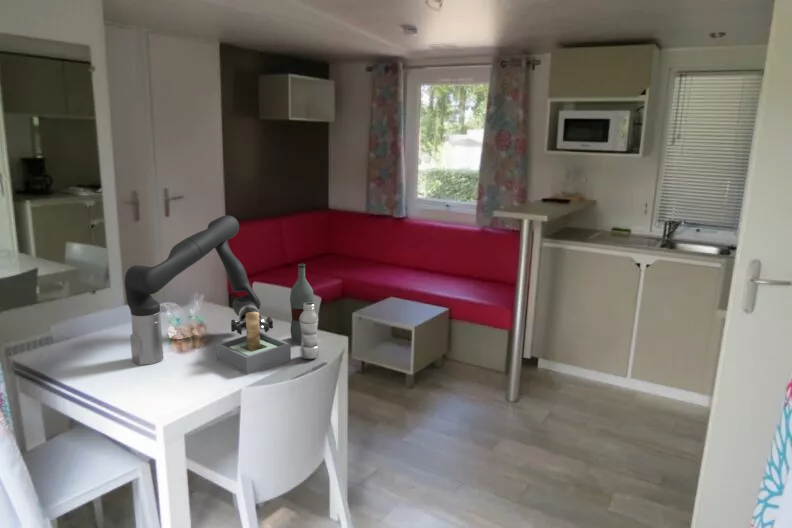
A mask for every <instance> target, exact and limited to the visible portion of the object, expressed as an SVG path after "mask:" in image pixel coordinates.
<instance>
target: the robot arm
mask: <svg viewBox="0 0 792 528" xmlns="http://www.w3.org/2000/svg"><path fill="white" fill-rule="evenodd" d="M239 231H240V224H239V221H238V220H237V218H235V217H234V216H232V215H227V214H226V215H222V216H219V217H218V218H216V219H214V220H211V221H210V222H209V223H208V224H207V228H206V229H204V230H201V231H199V232H196V233H194V234H192V235H190V236H188V237H186V238H184V239H183V240H181V241H179V242H178V243H176V244H175V245H174V246H173V247H172V248H171V249H170V252H169V253H168V257H167V259H165V260H163V261H162V262H160V263H158V264H156V265H154V266H147V265H141V264H140V265H132V266H130V267H129V268H128V269H127V270H126V272H125V276H124V290H125V296H126V302H127V306H128V308H129V310H130V319H131V321H130V322H131V332H132V333H131V334H130V335H129V336H130V339H129V340H130V348H131V349H130V350H131V361H132V362H134V363H136V365H139V366H143V365H152V364H156V363H159V362H161V361H163V360H164V358H165V357H164V345H163V344H164V343H163V333H162V320H161V319H162V317H161V315H162V314H161V305H160V302H158V301H157V300H156V299H154V298H153V296H152V295H153V294H156V293H158V292H160V291H161V290H162V289H163V288H164V287H166V285H168V284H169V283H170V282H171V281H172V280H173V279H175V278H176V277H177V276H178V275H180V274H182V273H183V272H184V271H185V270H187V269H188V268H190V267H191V266H193V265H194V264H196V263H197V262H198V261H201V259H203V258H204V257H205V256H206V255H208V254H210V253H211V252H212V251H213V250H214V249H215V251H216V252H217V255H218V257H219V258H220V260H221V262H222V264H223V267H224V269H225V271H226V275H227V278H228V280H229V284H230V288H231V290H232V292H234V293H240V292H246V293H247V295H243V296H240V297H238V298H236V299H234V300H233V302H232V309H233V311H234V313H235V314H236V315H237V316H238V319H239V320H238V321H236V320H235V319H231V321H230V328H231V332H236V333H237V334H238V335H243V333H242V332H243V331H246V313H248V312H258V313H259V323H260V330H264V333H268V332H269V331H270V329H271V330H272V329H273V328H274V325H273V324H274V320H273V319H272V318H271V316H268V317H267V318H265V319H263V318H262V315H261V313H260V308H261V306H262V305H261V303H262V302H261V300H260V299H259V297H258V295H257V293H255V291H254V289H253V288H252V285H251V283H250V281H249V279H248V274H247V271H246V269H245V267H244V265H243V264H242V263H241V261H240V260H239V259H238V258H237V257H236V255H234V253H233V252H232V250H231V247H230V245H229V242H228V241H229V240H230V239H232V238H234V237H236V236H237V234H238V232H239Z"/></svg>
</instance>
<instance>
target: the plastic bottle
mask: <svg viewBox="0 0 792 528" xmlns="http://www.w3.org/2000/svg"><path fill="white" fill-rule="evenodd" d="M303 309H304V311H303V312H302V314H301V315H300V318H299V319H300V326H301V333H302V334H301V335H302V338H301V344H300V349H299V353H300V356H301V357H302V359H305V360H313V359H316V358H318V357H319V354H320V348H319V342H318V327H319V315H318V314H317V313H316V311H315V310H316V309H315V302H314V303H310V302H308V303H304V307H303Z"/></svg>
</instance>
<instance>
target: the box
mask: <svg viewBox="0 0 792 528" xmlns="http://www.w3.org/2000/svg"><path fill="white" fill-rule="evenodd" d="M260 340H263V341H265V342H268V343H270V344H273V345H275V346H278V347H275V348H272V349H269V350H266V351H262V352H259V353H256V354H253V355H249V356H246V355H244V354H241V353H239V352H237V351H235V350H233V349H230V348H229V347H230V346H234V345H237V344H241V343H244V342H247V335H245V336H241V337H237V338H233V339H230V340H226V341H223V342H219V343H216V344H215V345H216V361H218V362H219V363H222V364H224V365H226V366H228V367H230V368H232V369H234V370H237V371H238V372H240V373H242V374H244V373H245V375H246V374H247V375H246V376H249V375H250V374H253V373H257V372H260V371H263V370H266V369H268V368H271V367H274V366H278V365H281V364H283V363H286V362H289V361H291V360H292V358H291V357H292V355H291V353H292V349H291V347H292V346H291V343H290V342H286V341H284V340H281V339H279V338H277V337H273V336H271V335H268V334H266V333H265V332H261V331H260Z"/></svg>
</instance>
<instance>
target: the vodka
mask: <svg viewBox="0 0 792 528" xmlns="http://www.w3.org/2000/svg"><path fill="white" fill-rule="evenodd" d="M297 267H298V273H297V274H298V275H297V276H298V278H297V280H296V281H295V283H294V284H293V286H292V288H291V290H290V294H289V295H290V297H289V302H290V311H291V312H290V313H291V322H290V336H291V337H290V338H291V341H292V342H293V343H294V344H300V345H301V338H302V335H301V334H302V333H301V326H300V319H299V318H300V315H301V314H302V312H303V311H304V309H303V307H304V303H308V302H310V303H314V304H315V296H314V295H315V294H314V289H313V288H312V286H311V285H310V283H309V281H308V280H307V278H306V264H305V263H299V264H298V265H297Z"/></svg>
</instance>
